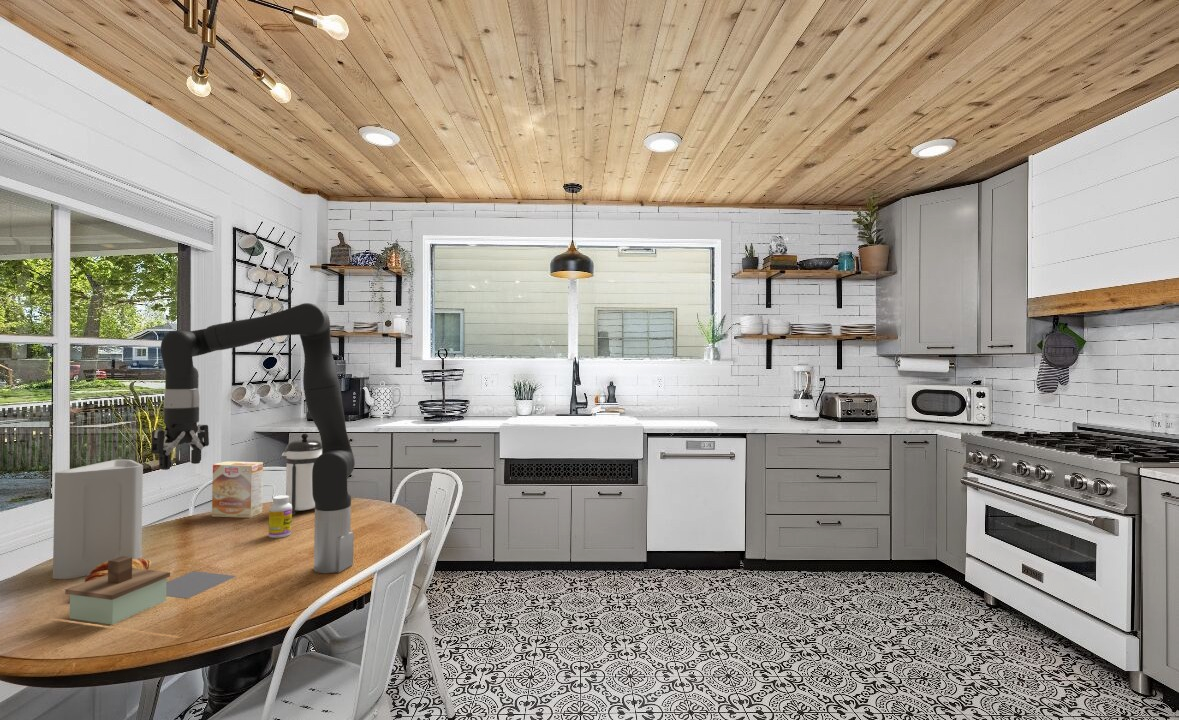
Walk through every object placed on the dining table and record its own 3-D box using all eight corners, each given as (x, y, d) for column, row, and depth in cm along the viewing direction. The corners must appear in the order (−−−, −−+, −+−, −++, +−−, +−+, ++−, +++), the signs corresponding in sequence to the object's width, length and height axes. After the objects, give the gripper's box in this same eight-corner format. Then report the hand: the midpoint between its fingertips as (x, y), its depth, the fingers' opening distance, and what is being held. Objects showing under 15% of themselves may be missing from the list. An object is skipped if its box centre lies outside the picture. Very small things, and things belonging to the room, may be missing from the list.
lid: (170, 576, 128) (170, 551, 128) (111, 599, 116) (112, 572, 116) (126, 571, 131) (127, 547, 131) (65, 593, 118) (65, 566, 118)
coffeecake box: (210, 517, 196) (211, 464, 196) (224, 511, 203) (225, 460, 203) (250, 518, 196) (251, 465, 196) (262, 512, 203) (263, 461, 203)
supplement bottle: (284, 538, 174) (284, 499, 174) (264, 538, 174) (264, 499, 174) (295, 532, 180) (296, 494, 180) (276, 531, 181) (277, 494, 181)
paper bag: (107, 578, 141) (109, 473, 141) (50, 578, 140) (52, 472, 140) (164, 552, 160) (165, 460, 160) (113, 552, 159) (115, 459, 160)
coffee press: (310, 517, 197) (311, 436, 197) (271, 514, 200) (273, 435, 200) (339, 505, 214) (340, 431, 215) (303, 502, 217) (304, 429, 217)
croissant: (138, 580, 148) (125, 555, 148) (171, 563, 149) (158, 538, 149) (67, 615, 127) (52, 585, 127) (106, 595, 128) (91, 565, 128)
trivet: (236, 577, 143) (236, 575, 143) (187, 600, 129) (187, 598, 129) (193, 572, 146) (193, 571, 146) (141, 594, 132) (141, 592, 132)
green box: (166, 602, 128) (166, 577, 128) (112, 626, 116) (112, 598, 116) (126, 596, 130) (126, 572, 130) (69, 619, 119) (69, 593, 119)
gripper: (167, 408, 134) (166, 472, 134) (217, 404, 148) (216, 462, 148) (143, 407, 135) (142, 471, 135) (194, 403, 149) (193, 460, 149)
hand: (180, 466), depth 141 cm, fingers open, 8 cm apart
